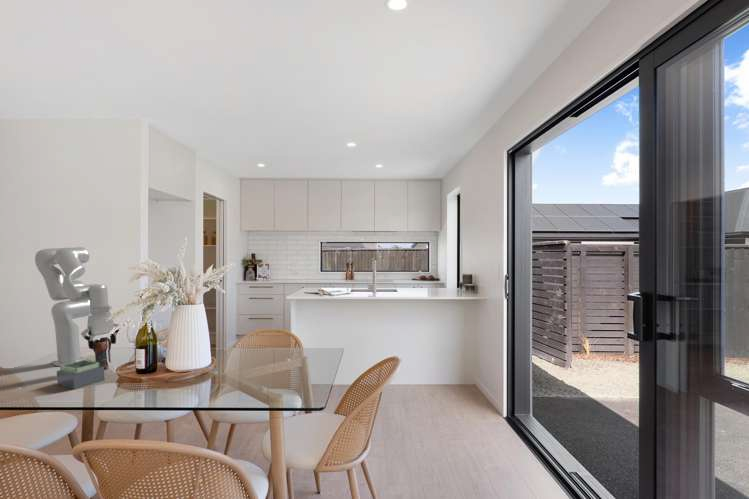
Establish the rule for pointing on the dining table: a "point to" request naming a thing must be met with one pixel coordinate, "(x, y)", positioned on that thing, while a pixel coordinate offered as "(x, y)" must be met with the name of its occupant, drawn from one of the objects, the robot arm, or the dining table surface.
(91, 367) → the stand
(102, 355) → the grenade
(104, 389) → the dining table surface
